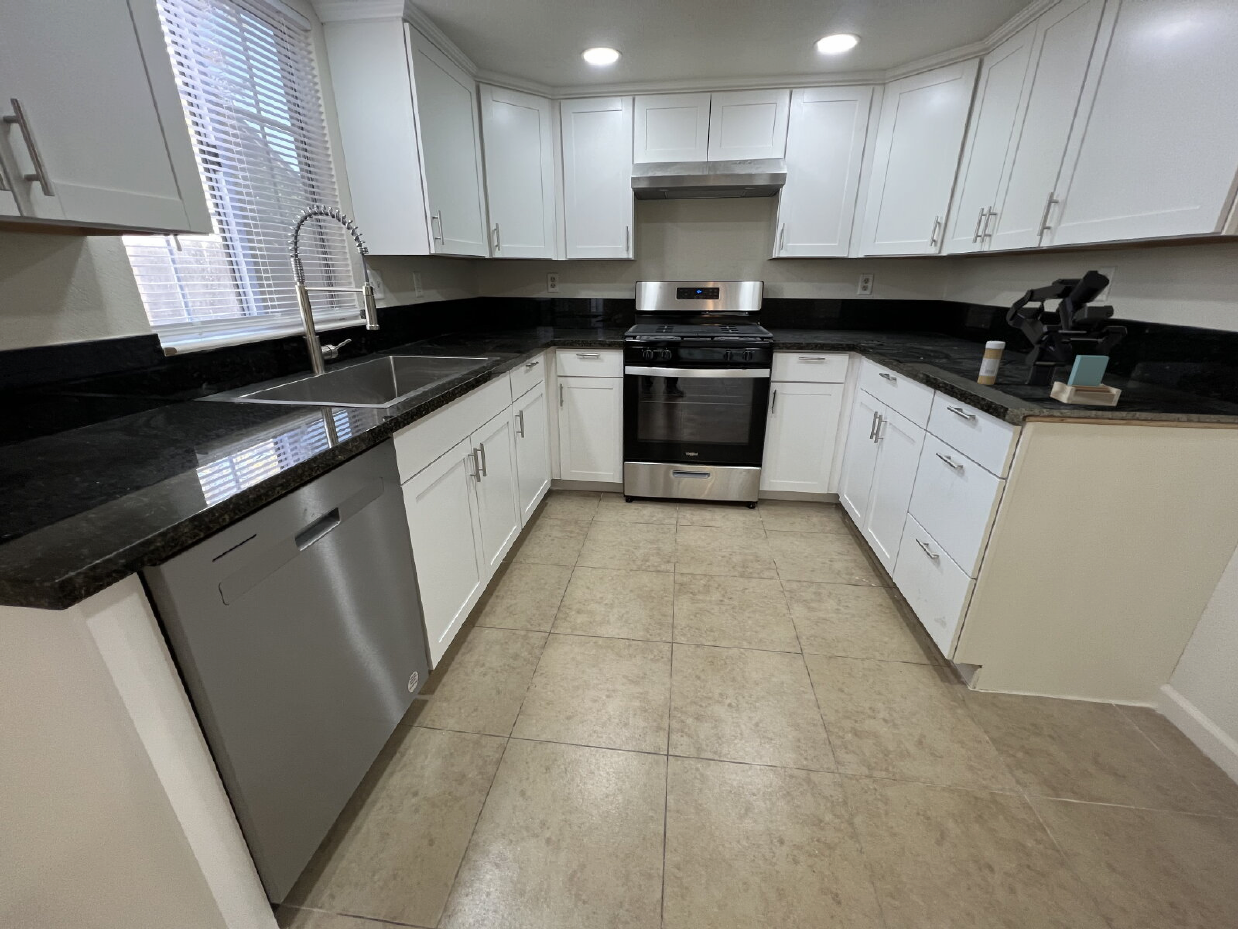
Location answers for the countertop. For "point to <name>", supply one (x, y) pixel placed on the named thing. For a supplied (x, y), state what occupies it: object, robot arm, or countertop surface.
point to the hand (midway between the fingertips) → (1083, 360)
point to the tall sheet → (1088, 370)
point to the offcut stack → (1090, 388)
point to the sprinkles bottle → (991, 362)
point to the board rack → (1084, 395)
